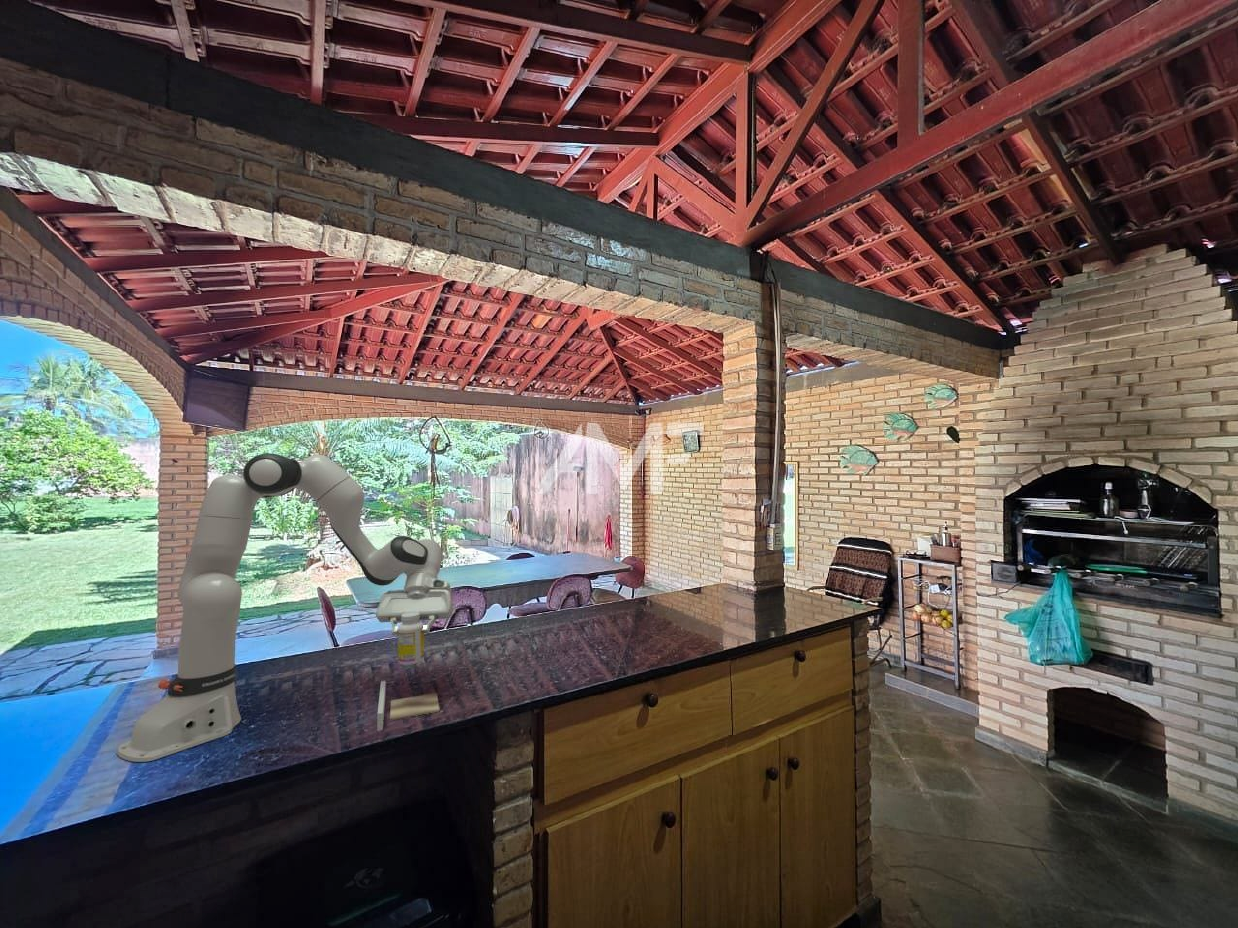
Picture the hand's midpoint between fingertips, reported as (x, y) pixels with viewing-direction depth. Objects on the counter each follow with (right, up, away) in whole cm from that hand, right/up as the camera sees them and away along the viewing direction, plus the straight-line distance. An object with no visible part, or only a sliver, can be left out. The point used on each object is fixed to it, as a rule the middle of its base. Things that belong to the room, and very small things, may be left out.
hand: (410, 633), depth 133 cm
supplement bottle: (0, -8, 0) cm, 8 cm away
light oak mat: (+1, -20, 0) cm, 20 cm away
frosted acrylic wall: (-6, -20, -3) cm, 21 cm away
